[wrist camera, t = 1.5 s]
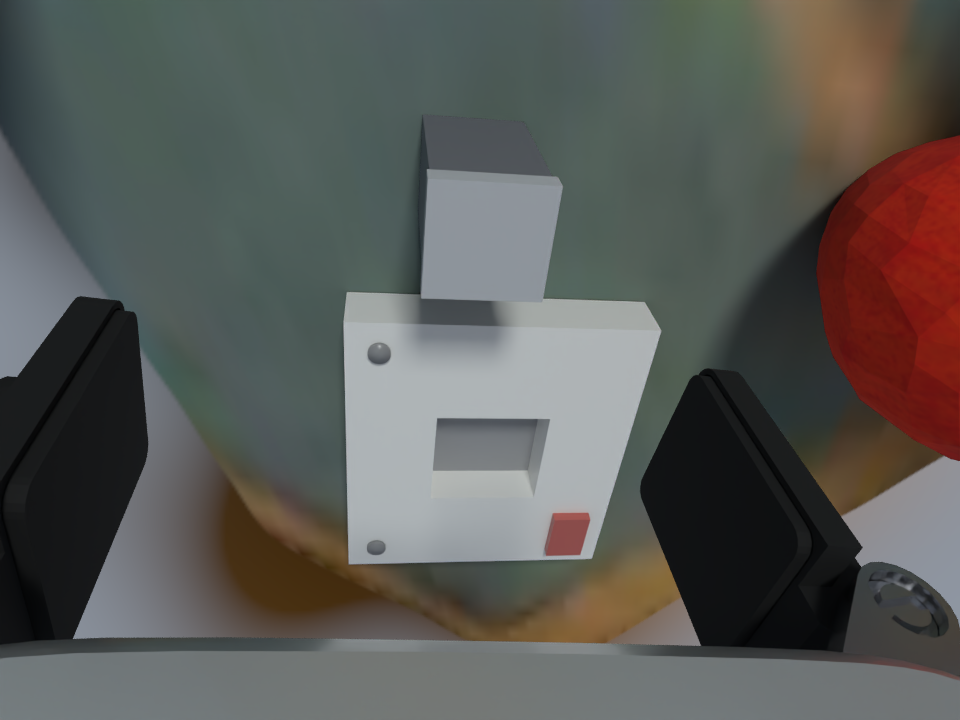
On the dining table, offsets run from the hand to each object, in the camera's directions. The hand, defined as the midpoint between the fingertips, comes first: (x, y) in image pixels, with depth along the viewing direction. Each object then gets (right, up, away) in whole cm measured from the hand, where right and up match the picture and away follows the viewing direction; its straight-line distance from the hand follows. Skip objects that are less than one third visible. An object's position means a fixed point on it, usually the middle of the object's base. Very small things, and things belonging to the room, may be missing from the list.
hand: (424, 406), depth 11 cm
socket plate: (+1, -3, +24) cm, 24 cm away
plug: (0, +9, +16) cm, 18 cm away
